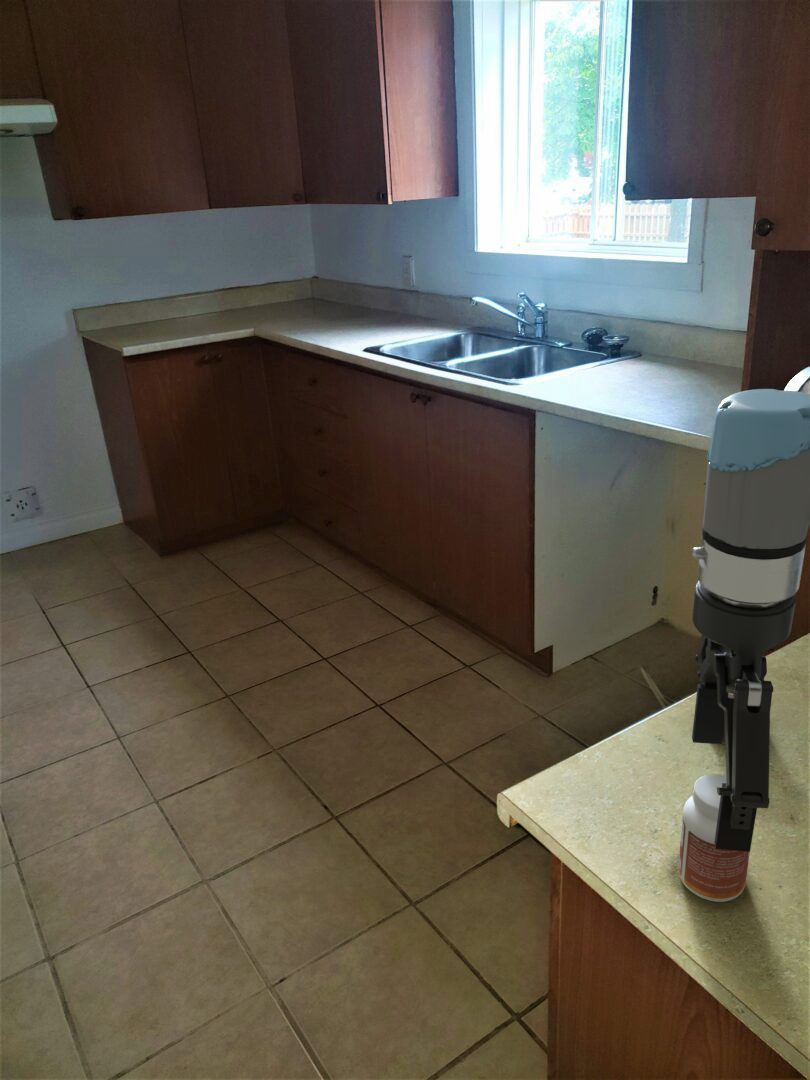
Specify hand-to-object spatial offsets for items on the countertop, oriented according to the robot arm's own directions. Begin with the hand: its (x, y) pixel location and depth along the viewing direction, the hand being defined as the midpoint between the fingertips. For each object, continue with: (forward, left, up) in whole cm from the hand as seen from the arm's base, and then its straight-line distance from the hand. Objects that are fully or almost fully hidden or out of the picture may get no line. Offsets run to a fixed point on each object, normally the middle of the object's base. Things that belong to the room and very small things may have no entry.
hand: (718, 790), depth 74 cm
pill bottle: (0, 0, -11) cm, 11 cm away
